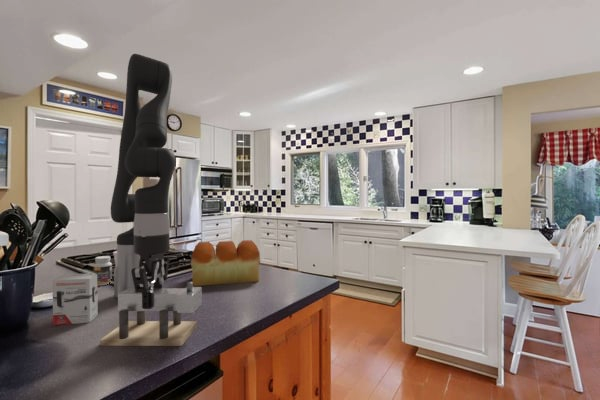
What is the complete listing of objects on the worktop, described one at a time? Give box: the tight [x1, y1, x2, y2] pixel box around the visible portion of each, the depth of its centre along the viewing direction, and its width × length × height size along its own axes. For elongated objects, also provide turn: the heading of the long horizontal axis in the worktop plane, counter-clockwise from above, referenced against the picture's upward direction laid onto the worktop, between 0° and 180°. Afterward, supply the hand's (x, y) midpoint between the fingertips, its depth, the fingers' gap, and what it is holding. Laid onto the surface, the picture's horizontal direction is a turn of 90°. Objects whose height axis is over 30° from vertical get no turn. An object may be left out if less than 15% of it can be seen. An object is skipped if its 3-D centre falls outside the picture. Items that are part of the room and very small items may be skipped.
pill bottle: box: [93, 255, 113, 287], centre depth 111 cm, size 6×6×10 cm
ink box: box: [51, 272, 99, 326], centre depth 79 cm, size 8×5×12 cm, turn 103°
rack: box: [99, 309, 198, 347], centre depth 71 cm, size 18×10×7 cm, turn 90°
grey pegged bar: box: [117, 281, 203, 314], centre depth 71 cm, size 18×6×6 cm, turn 90°
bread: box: [190, 239, 261, 287], centre depth 118 cm, size 25×12×15 cm, turn 105°
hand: (152, 304), depth 71 cm, fingers closed on grey pegged bar, 4 cm apart
